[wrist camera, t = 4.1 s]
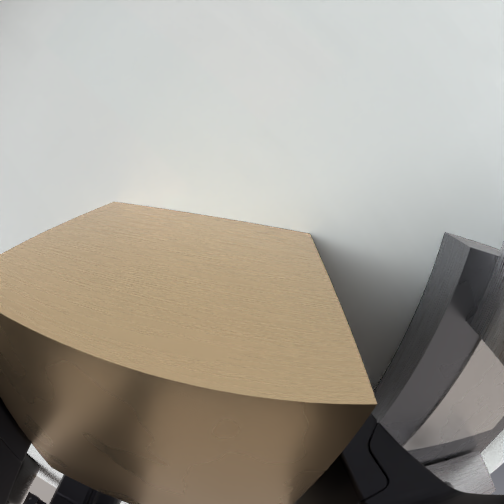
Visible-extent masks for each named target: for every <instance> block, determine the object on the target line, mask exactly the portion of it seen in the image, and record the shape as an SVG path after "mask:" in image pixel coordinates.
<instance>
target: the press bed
mask: <svg viewBox="0 0 504 504" xmlns="http://www.w3.org/2000/svg"><path fill="white" fill-rule="evenodd" d="M374 396H375V399H376V402H377V405H376V407H375V408H374V410H373V411H372V413H371V414H372V415H373V416H374V417H375V418H376V419H377V423H378V422H379V423H380V424H381V425H382V426H383V427H384V428H385V429H386V430H387V431H388V432H389V433H390V434H391V435H392V437H393V438H394V439H395V440H396V441H397V442H398V443H399V444H400V445H401V446H402V447H404V448H405V449H406V450H407V451H408V452H409V453H410V454H411V455H412V456H413V457H414V458H416V459H417V460H418V461H419V462H420V463H422V464H423V465H424V466H429V465H433V464H436V463H440V462H444V461H447V460H451V459H454V458H457V457H460V456H463V455H466V454H469V453H472V452H475V451H477V450H479V451H480V453H481V452H482V451H483V450H484V449H485V448H486V447H487V446H488V445H489V444H490V443H491V442H492V441H493V440H494V439H495V437H496V436H497V435H498V434H499V433H500V432H501V431H502V430H503V429H504V241H503V244H502V247H501V250H499V249H496V248H493V247H490V246H487V245H484V244H481V243H478V242H475V241H472V240H469V239H466V238H462V237H459V236H456V235H453V234H449V233H446V232H445V234H444V237H443V241H442V244H441V247H440V250H439V253H438V256H437V259H436V262H435V265H434V268H433V270H432V273H431V276H430V279H429V281H428V284H427V286H426V289H425V291H424V294H423V296H422V299H421V301H420V304H419V306H418V308H417V311H416V313H415V315H414V317H413V320H412V322H411V324H410V326H409V328H408V330H407V332H406V334H405V336H404V339H403V341H402V343H401V345H400V347H399V348H398V350H397V352H396V354H395V356H394V358H393V360H392V362H391V364H390V365H389V367H388V369H387V371H386V373H385V374H384V376H383V378H382V379H381V381H380V383H379V385H378V386H377V388H376V390H375V391H374Z"/></svg>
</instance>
